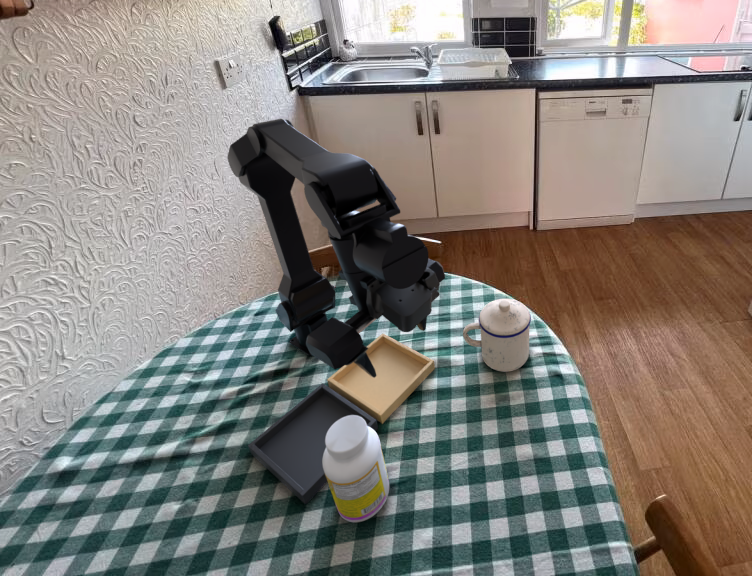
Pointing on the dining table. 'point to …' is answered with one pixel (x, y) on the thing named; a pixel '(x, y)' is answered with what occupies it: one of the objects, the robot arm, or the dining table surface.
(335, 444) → the supplement bottle
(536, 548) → the dining table surface
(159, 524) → the dining table surface
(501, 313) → the teacup with lid
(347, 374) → the light tray
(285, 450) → the dark tray
